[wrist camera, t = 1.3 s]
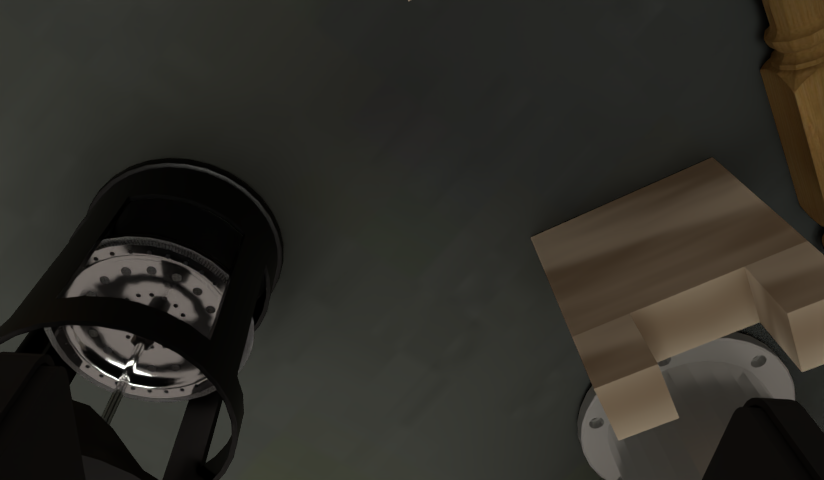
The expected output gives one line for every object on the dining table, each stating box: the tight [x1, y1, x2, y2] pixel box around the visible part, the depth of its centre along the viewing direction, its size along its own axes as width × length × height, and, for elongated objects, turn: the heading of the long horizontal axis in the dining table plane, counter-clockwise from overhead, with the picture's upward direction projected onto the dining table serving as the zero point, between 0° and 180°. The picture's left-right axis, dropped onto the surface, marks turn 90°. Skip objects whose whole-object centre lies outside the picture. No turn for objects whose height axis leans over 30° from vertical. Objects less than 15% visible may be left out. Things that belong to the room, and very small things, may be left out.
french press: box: [0, 159, 283, 480], centre depth 23 cm, size 12×9×23 cm
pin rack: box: [408, 0, 824, 440], centre depth 24 cm, size 21×9×11 cm, turn 26°
